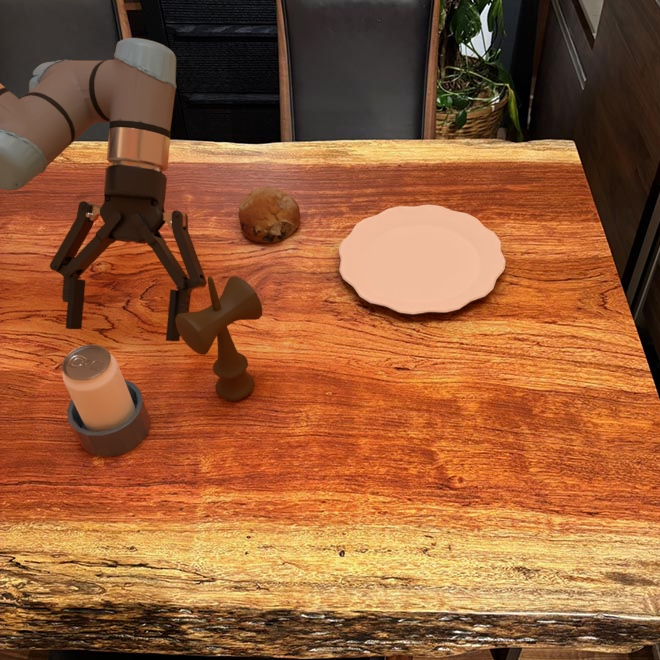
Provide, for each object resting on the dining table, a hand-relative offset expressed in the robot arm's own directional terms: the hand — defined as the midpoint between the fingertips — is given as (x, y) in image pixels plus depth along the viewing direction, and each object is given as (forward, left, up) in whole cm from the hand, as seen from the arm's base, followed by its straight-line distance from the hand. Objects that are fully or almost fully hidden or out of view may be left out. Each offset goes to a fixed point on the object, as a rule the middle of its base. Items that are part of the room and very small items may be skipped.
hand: (122, 335), depth 104 cm
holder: (+3, -9, -8) cm, 12 cm away
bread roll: (+1, +35, -8) cm, 36 cm away
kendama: (+14, +3, -8) cm, 16 cm away
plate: (+27, +36, -8) cm, 46 cm away
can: (+3, -9, -7) cm, 12 cm away
